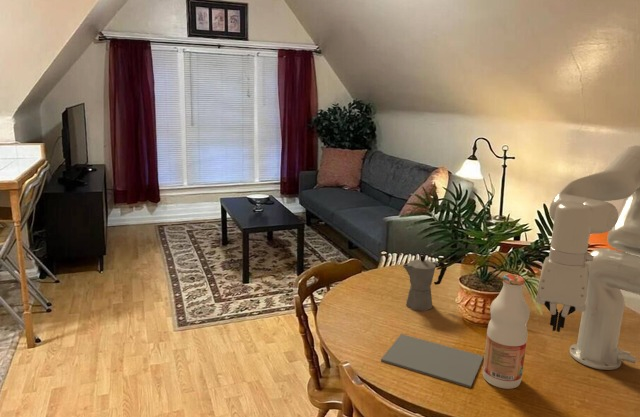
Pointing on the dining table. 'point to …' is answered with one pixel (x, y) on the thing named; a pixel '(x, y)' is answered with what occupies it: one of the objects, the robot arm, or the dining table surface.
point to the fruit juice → (506, 335)
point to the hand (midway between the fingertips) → (556, 328)
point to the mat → (434, 360)
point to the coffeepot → (422, 282)
